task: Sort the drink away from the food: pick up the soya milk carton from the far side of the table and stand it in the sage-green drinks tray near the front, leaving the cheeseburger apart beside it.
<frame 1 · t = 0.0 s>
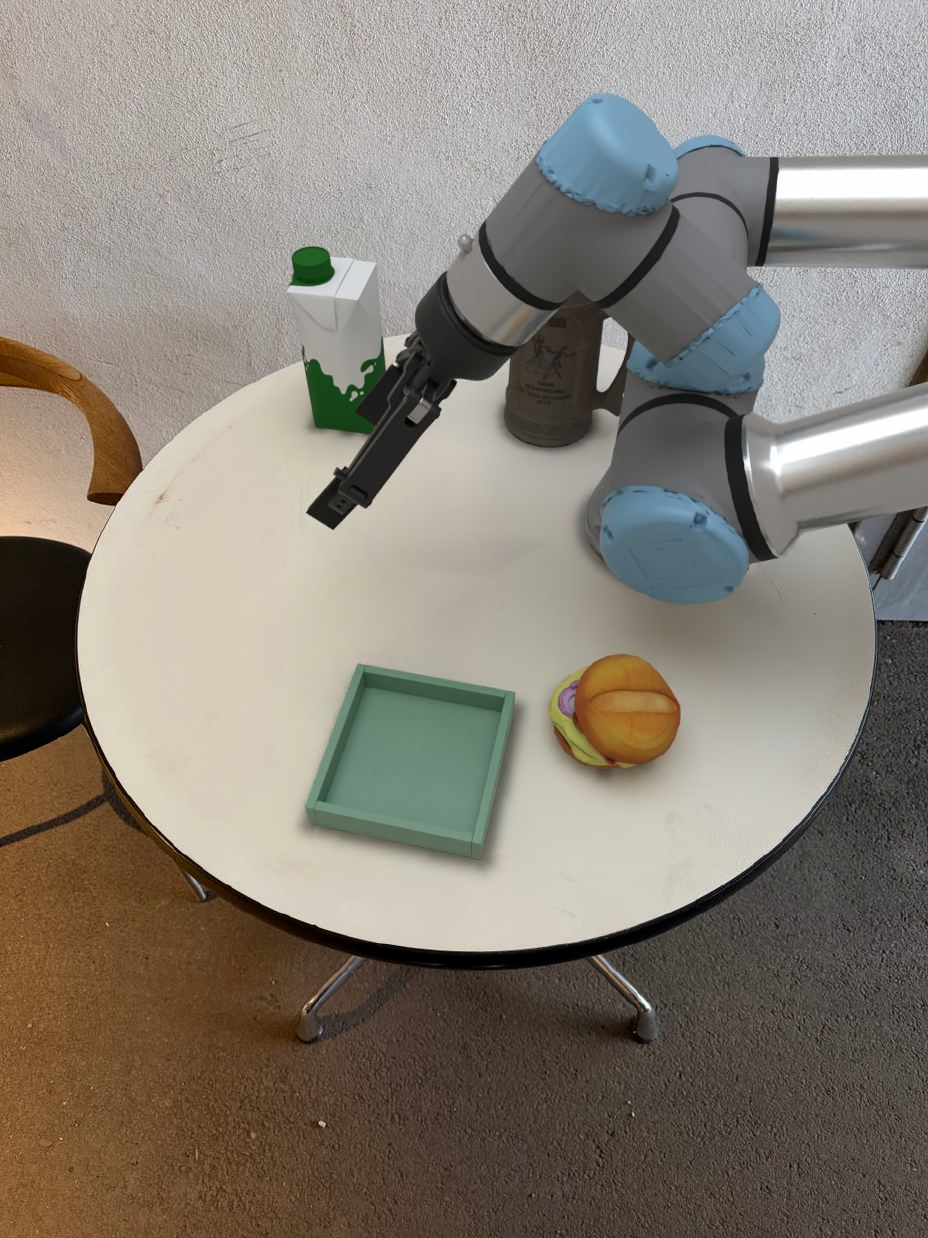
hand: (345, 465, 76), 15 cm above the table, tool tilted 35°, fingers open, 13 cm apart
cheeseburger: (608, 732, 77), on the table
soya milk: (351, 414, 105), on the table
beer stein: (567, 422, 104), on the table
drinks tray: (416, 764, 75), on the table
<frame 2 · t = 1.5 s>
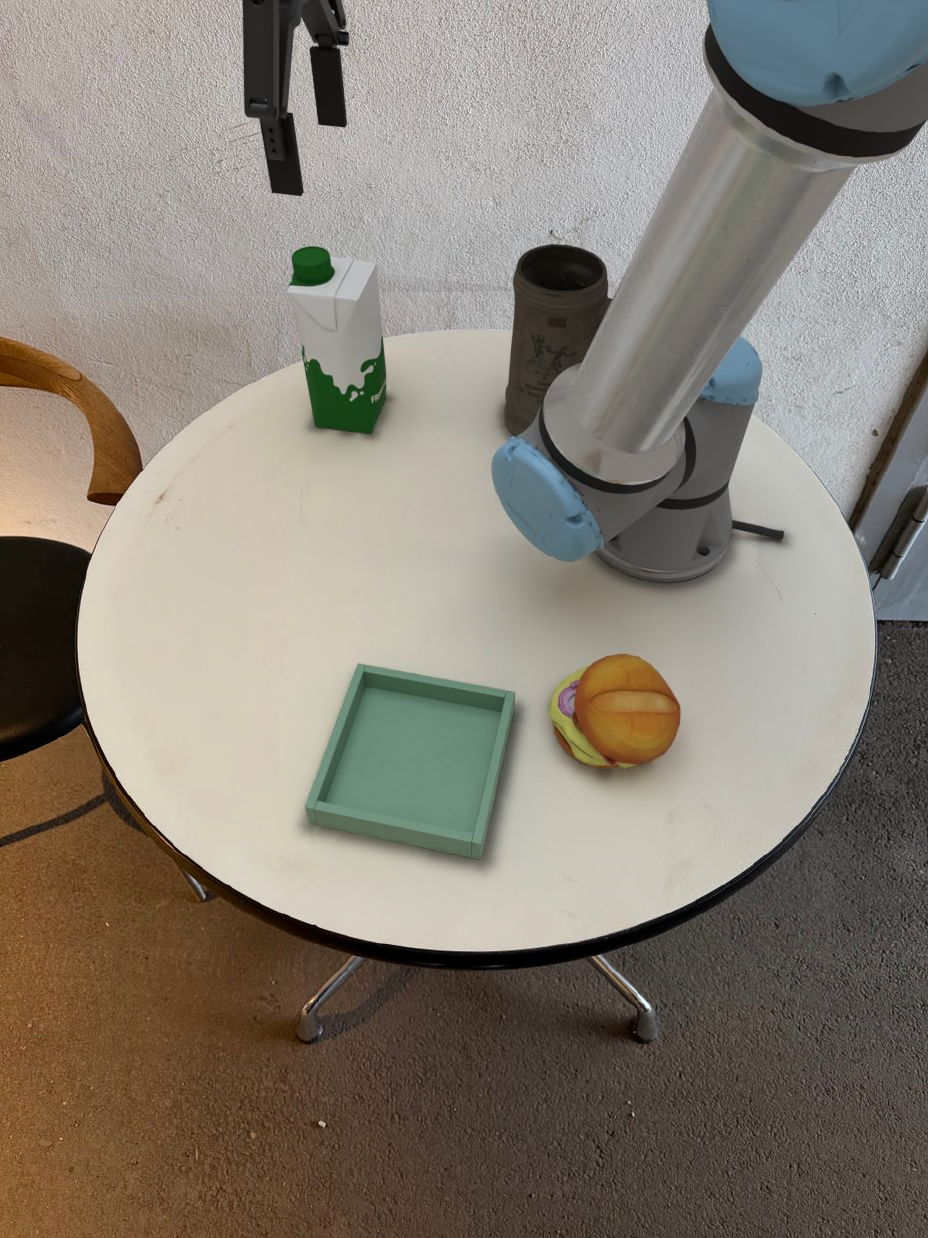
hand: (311, 157, 79), 31 cm above the table, tool pointing down, fingers open, 13 cm apart
nothing on the table moved.
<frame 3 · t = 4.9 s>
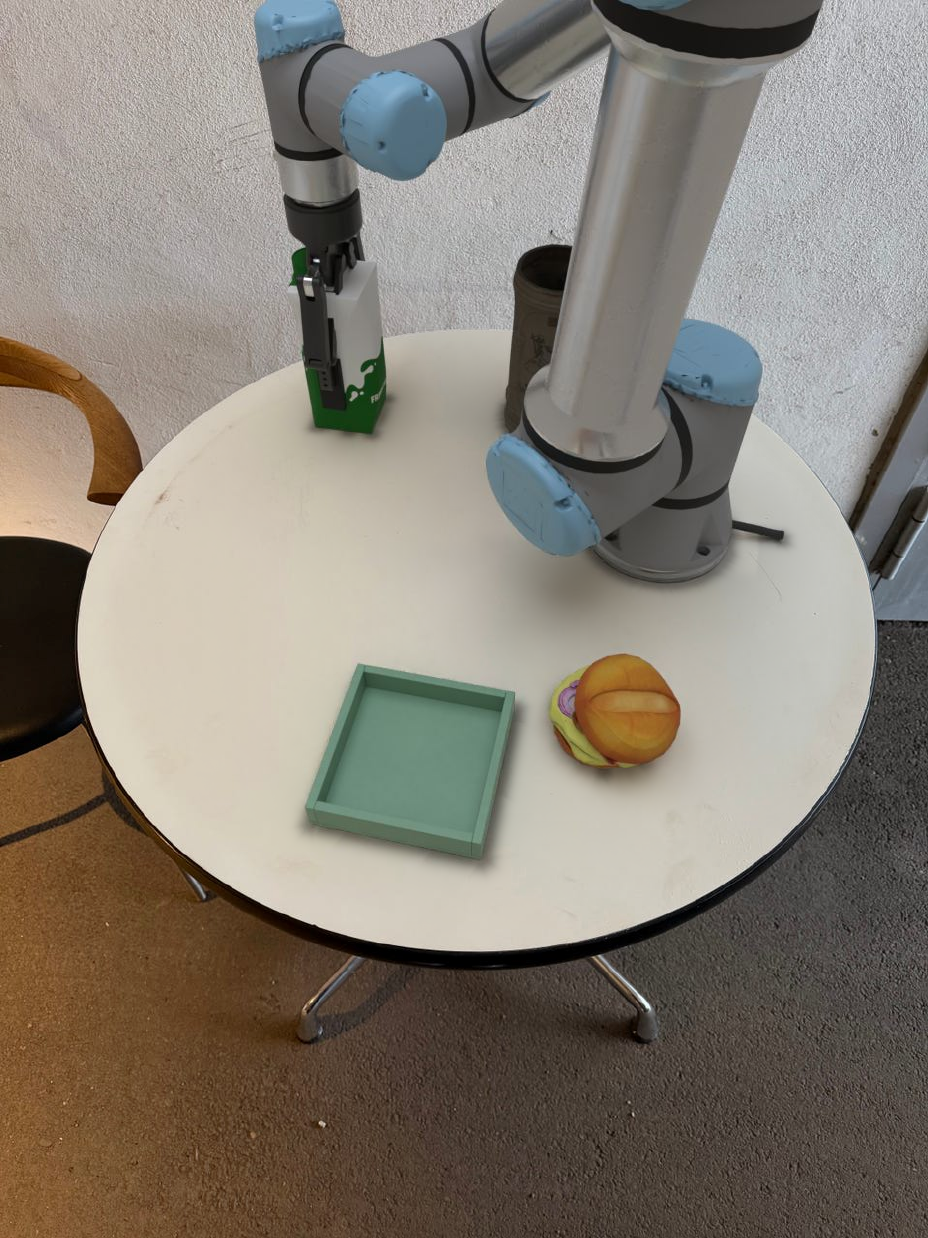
hand: (347, 382, 101), 4 cm above the table, tool pointing down, fingers closed on soya milk, 9 cm apart
soya milk: (351, 414, 105), on the table, touching gripper
everything else where it was.
when the fingers open (5 cm above the table, at t = 15.7 s): soya milk stays where it is, resting on drinks tray.
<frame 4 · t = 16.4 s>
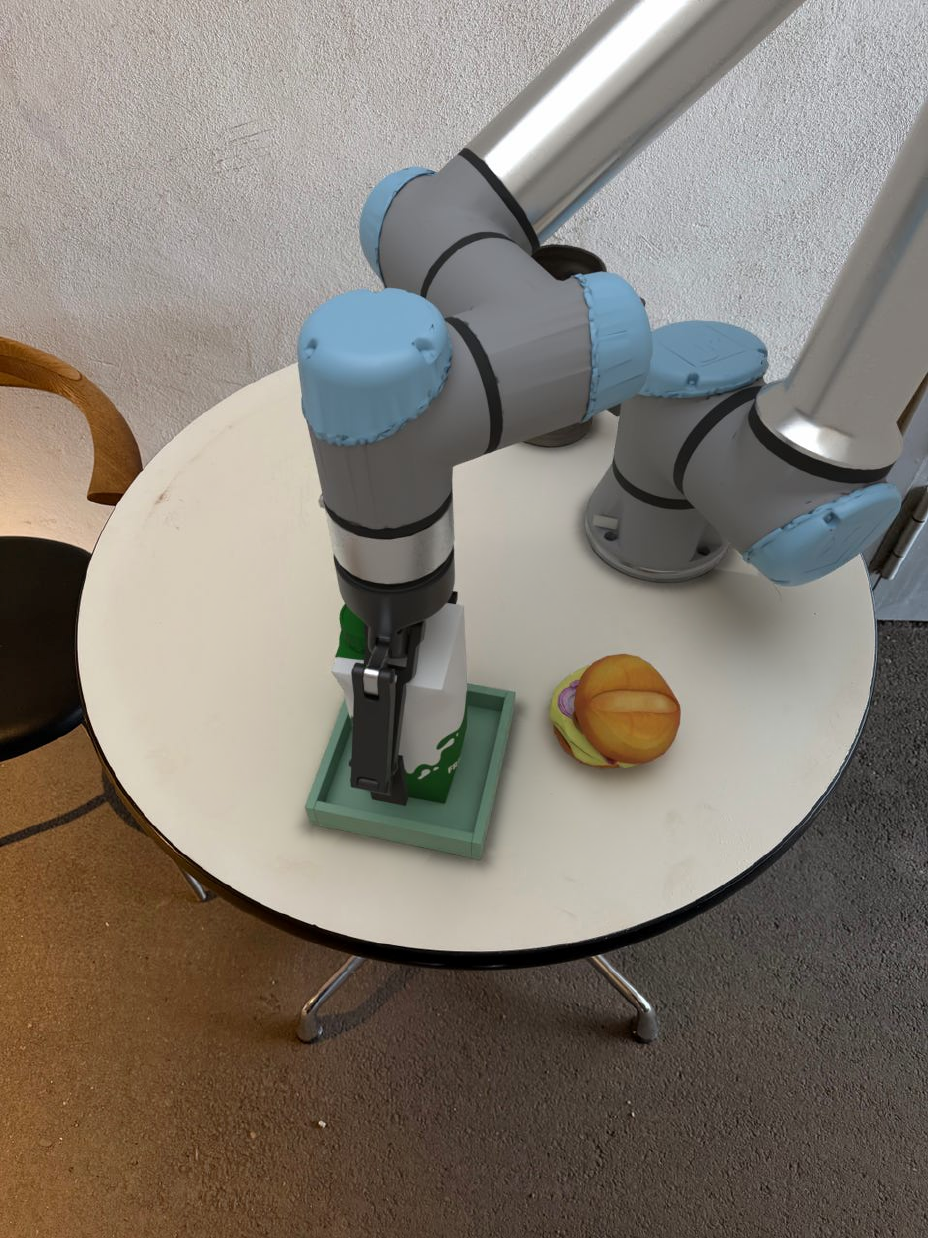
hand: (412, 723, 69), 7 cm above the table, tool pointing down, fingers open, 13 cm apart
soya milk: (414, 762, 74), resting on drinks tray
everything else where it was.
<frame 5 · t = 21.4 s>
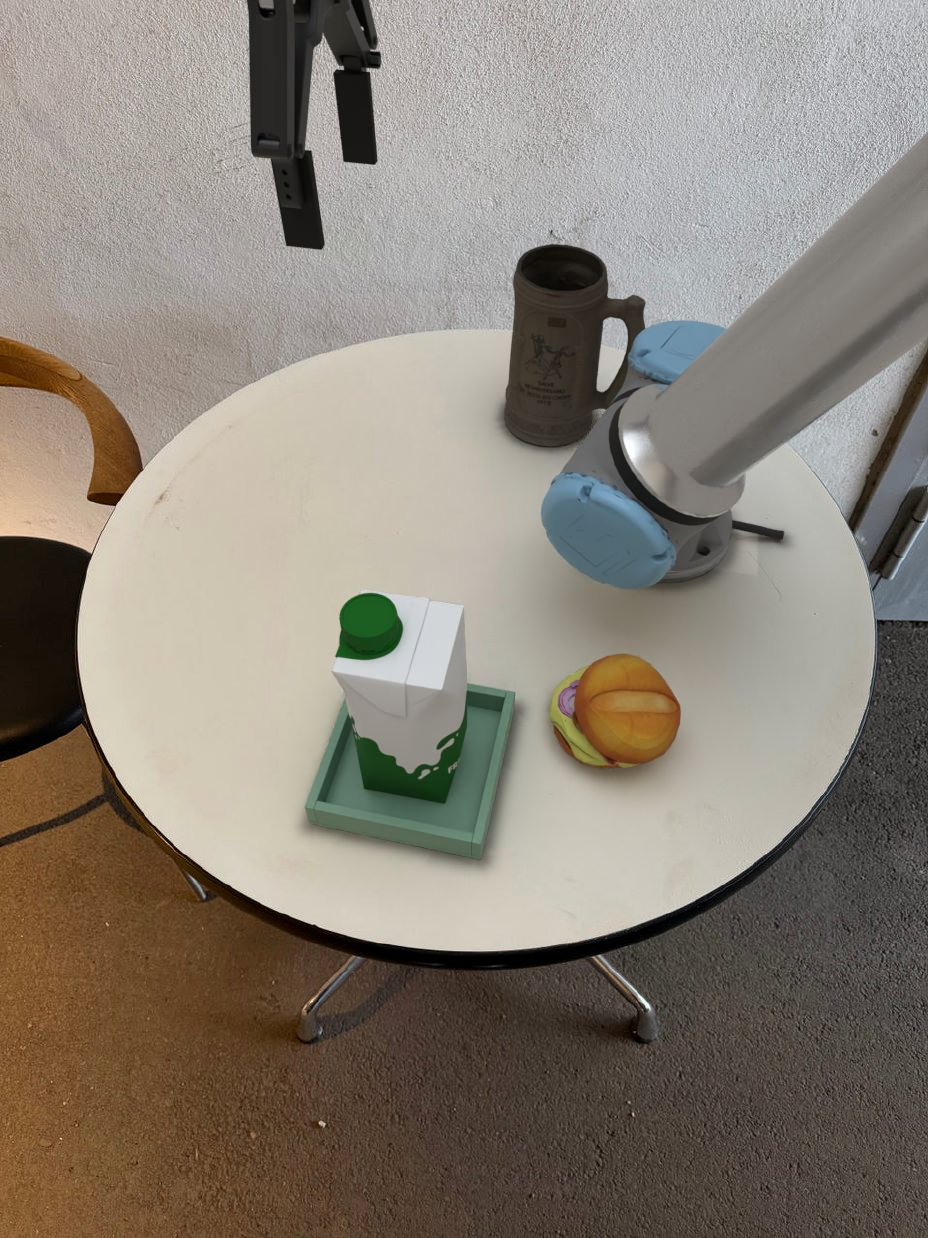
hand: (334, 201, 66), 35 cm above the table, tool pointing down, fingers open, 13 cm apart
nothing on the table moved.
at the end: soya milk inside the target area in the drinks tray (0.1 cm from its centre), point 0.4 cm above the drinks tray's base; soya milk tilted 0°; cheeseburger moved 0.2 cm from its start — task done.
